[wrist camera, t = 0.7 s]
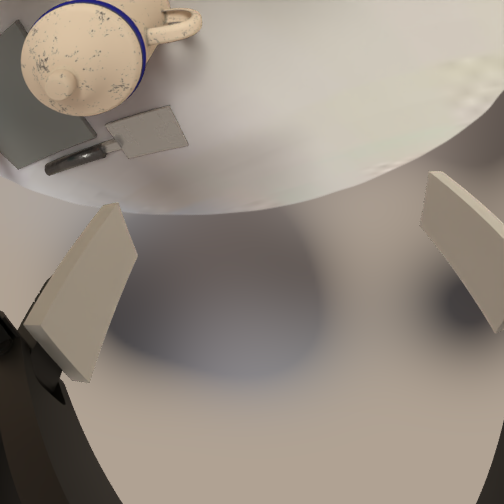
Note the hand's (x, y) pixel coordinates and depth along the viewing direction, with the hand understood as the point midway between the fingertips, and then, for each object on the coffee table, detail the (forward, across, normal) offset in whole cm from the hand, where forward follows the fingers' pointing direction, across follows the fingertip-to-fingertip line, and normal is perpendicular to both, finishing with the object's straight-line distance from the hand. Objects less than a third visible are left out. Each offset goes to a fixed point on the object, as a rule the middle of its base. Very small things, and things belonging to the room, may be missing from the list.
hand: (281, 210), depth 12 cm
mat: (+18, -27, +9) cm, 34 cm away
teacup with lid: (+15, -9, +13) cm, 21 cm away
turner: (+22, -17, 0) cm, 28 cm away
